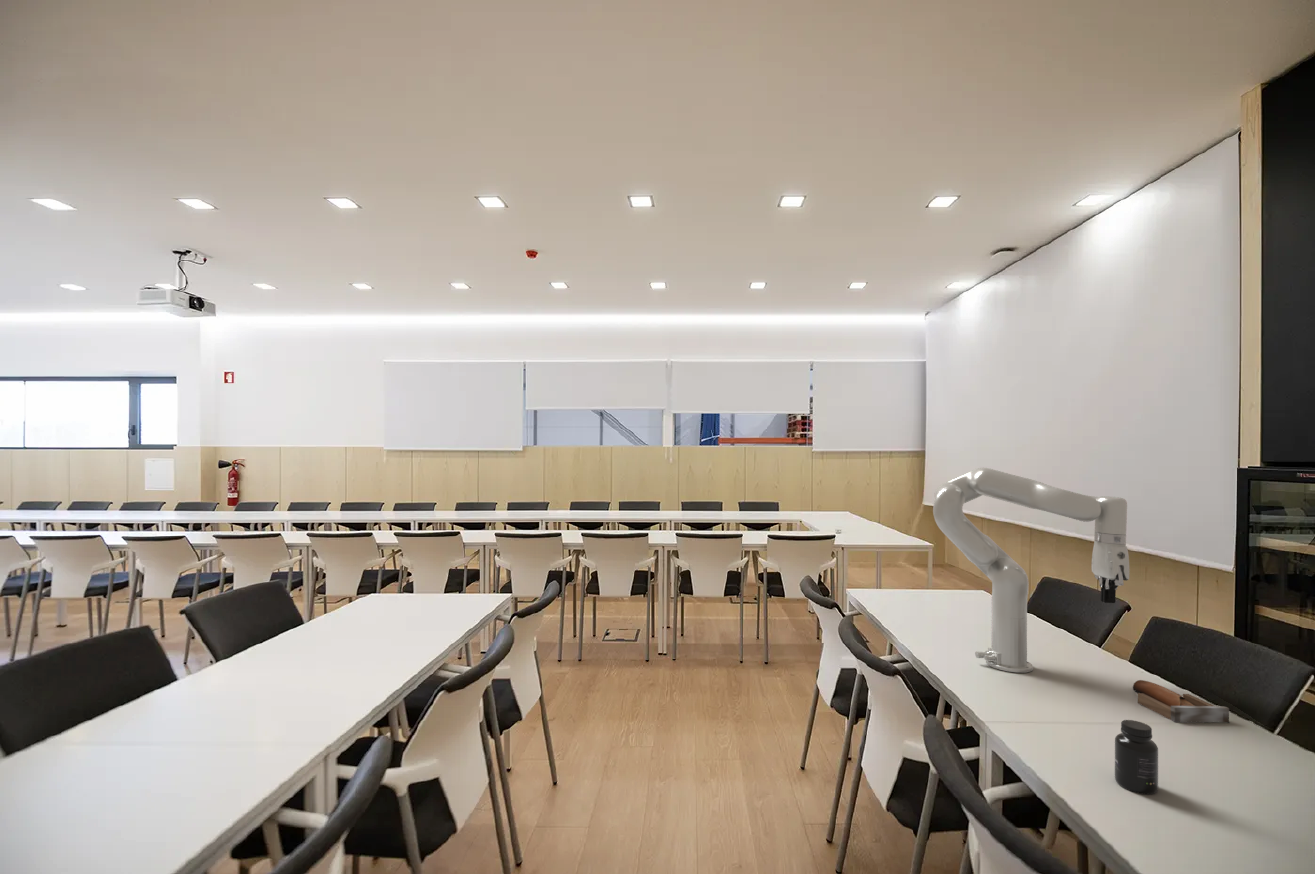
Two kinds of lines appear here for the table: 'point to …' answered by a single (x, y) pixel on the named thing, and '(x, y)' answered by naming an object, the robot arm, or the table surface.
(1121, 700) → the table surface
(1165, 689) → the sunglasses case
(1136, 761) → the supplement bottle
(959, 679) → the table surface
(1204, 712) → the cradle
